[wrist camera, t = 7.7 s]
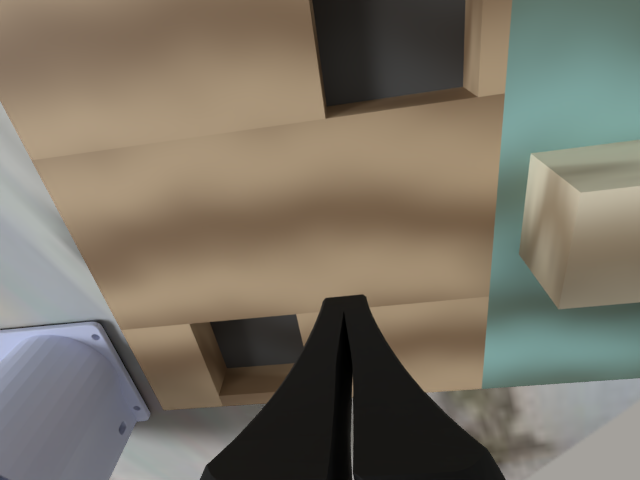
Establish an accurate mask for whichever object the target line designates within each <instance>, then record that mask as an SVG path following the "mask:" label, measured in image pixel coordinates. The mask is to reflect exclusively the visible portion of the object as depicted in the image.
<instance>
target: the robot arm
mask: <svg viewBox="0 0 640 480" xmlns="http://www.w3.org/2000/svg"><path fill="white" fill-rule="evenodd" d="M0 361H1V362H0V480H109V479H110V476H111V474H112V472H113V470H114V468H115V466H116V464H117V462H118V460H119V458H120V455H121V453H122V451H123V449H124V447H125V445H126V443H127V441H128V439H129V437H130V434H131V432H132V430H133V428H134V426H135V424H136V422H138V421H147V420H148V419H149V417H150V412H149V410H148V408H147V406H146V404H145V403H144V401H143V399H142V397H141V395H140V394H139V392H138V390H137V388H136V386H135V385H134V383H133V381H132V379H131V377H130V376H129V374H128V372H127V370H126V368H125V367H124V365H123V363H122V361H121V359H120V358H119V356H118V354H117V352H116V350H115V349H114V347H113V345H112V343H111V341H110V340H109V338H108V336H107V334H106V332H105V331H104V329H103V327H102V326H101V324H99V323H97V322H82V323H71V324H61V325H50V326H40V327H29V328H18V329H8V330H0ZM352 382H353V414H354V443H353V475H354V480H505V478H504V476H503V474H502V472H501V471H500V469H499V467H498V465H497V464H496V462H495V460H494V459H493V457H492V456H491V454H490V453H489V451H488V450H487V449H486V448H485V447H484V446H483V445H481V444H480V443H479V442H478V441H477V440H475V439H474V438H473V437H472V436H470V435H469V434H468V433H467V432H466V431H465V430H463V429H462V428H461V427H460V426H459V425H458V424H457V423H456V422H454V421H453V420H452V419H451V418H450V417H449V416H448V415H447V414H446V413H445V412H444V411H443V410H442V409H441V408H440V407H439V406H438V405H437V404H436V403H435V402H434V401H433V400H432V399H431V398H430V397H429V396H428V395H427V394H426V393H425V392H424V391H423V389H422V388H421V387H420V386H419V385H418V384H417V382H416V381H415V380H414V379H413V378H412V376H411V375H410V374H409V373H408V371H407V370H406V369H405V368H404V366H403V365H402V363H401V362H400V361H399V359H398V358H397V356H396V355H395V353H394V352H393V351H392V349H391V348H390V346H389V344H388V343H387V341H386V340H385V338H384V336H383V334H382V333H381V331H380V329H379V327H378V325H377V323H376V321H375V319H374V317H373V315H372V313H371V310H370V308H369V305H368V302H367V297H366V296H365V295H363V294H360V295H350V296H340V297H329V298H325V299H324V300H323V302H322V306H321V309H320V312H319V314H318V317H317V320H316V322H315V324H314V327H313V329H312V331H311V333H310V335H309V337H308V339H307V342H306V344H305V346H304V347H303V349H302V351H301V353H300V355H299V356H298V358H297V360H296V362H295V363H294V365H293V367H292V368H291V370H290V372H289V373H288V375H287V376H286V378H285V379H284V381H283V382H282V384H281V385H280V386H279V388H278V389H277V391H276V392H275V393H274V395H273V396H272V397H271V398H270V400H269V401H268V402H267V404H266V405H265V406H264V407H263V409H262V410H261V411H260V412H259V413H258V415H257V416H256V417H255V418H254V419H253V420H252V421H251V422H250V423H249V424H248V425H247V426H246V428H245V429H244V430H243V431H242V432H241V433H240V434H239V435H238V436H237V437H236V438H235V439H234V440H233V441H232V442H231V443H230V444H229V445H228V446H227V447H226V448H225V449H224V450H222V451H221V452H220V453H219V454H218V455H217V456H216V457H215V458H214V459H213V460H212V461H211V462H209V463H208V464H207V465H206V467H205V469H204V471H203V474H202V476H201V478H200V480H352V467H351V409H352Z"/></svg>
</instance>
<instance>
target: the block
mask: <svg viewBox="0 0 640 480" xmlns="http://www.w3.org/2000/svg"><path fill="white" fill-rule="evenodd" d="M519 255H520V257H521V258H522V259H523V261H524V262H525V264H526V265H527V266H528V268H529V269H530V270H531V272H532V273H533V275H534V276H535V277H536V279H537V280H538V282H539V283H540V284H541V286H542V287H543V289H544V290H545V291H546V293H547V294H548V295H549V297H550V298H551V300H552V301H553V302H554V304H555V305H556V307H557V308H558V309H568V308H580V307H592V306H603V305H615V304H626V303H638V302H640V140H633V141H625V142H617V143H609V144H601V145H593V146H585V147H578V148H570V149H562V150H554V151H546V152H538V153H531V155H530V163H529V172H528V180H527V189H526V197H525V206H524V214H523V223H522V232H521V240H520V249H519Z"/></svg>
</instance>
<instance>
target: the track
mask: <svg viewBox="0 0 640 480" xmlns="http://www.w3.org/2000/svg"><path fill="white" fill-rule="evenodd" d="M0 101H1V103H2V105H3V107H4V109H5V111H6V113H7V115H8V116H9V118H10V120H11V122H12V124H13V126H14V128H15V130H16V132H17V134H18V135H19V137H20V139H21V141H22V143H23V145H24V147H25V149H26V151H27V152H28V154H29V156H30V158H31V160H32V162H33V164H34V166H35V168H36V170H37V171H38V173H39V175H40V177H41V179H42V181H43V183H44V185H45V187H46V189H47V190H48V192H49V194H50V196H51V198H52V200H53V202H54V204H55V206H56V207H57V209H58V211H59V213H60V215H61V217H62V219H63V221H64V223H65V225H66V226H67V228H68V230H69V232H70V234H71V236H72V238H73V240H74V242H75V243H76V245H77V247H78V249H79V251H80V253H81V255H82V257H83V259H84V261H85V262H86V264H87V266H88V268H89V270H90V272H91V274H92V276H93V278H94V280H95V281H96V283H97V285H98V287H99V289H100V291H101V293H102V295H103V297H104V298H105V300H106V302H107V304H108V306H109V308H110V310H111V312H112V314H113V316H114V317H115V319H116V321H117V323H118V325H119V327H120V329H121V331H122V333H123V335H124V336H125V338H126V340H127V342H128V344H129V346H130V348H131V350H132V352H133V353H134V355H135V357H136V359H137V361H138V363H139V365H140V367H141V369H142V371H143V372H144V374H145V376H146V378H147V380H148V382H149V384H150V386H151V388H152V389H153V391H154V393H155V395H156V397H157V399H158V401H159V403H160V405H161V407H162V408H163V410H176V409H191V408H206V407H221V406H235V405H250V404H265V403H267V402H268V401H269V400H270V398H271V397H272V396H273V395H274V393H275V392H276V391H277V389H278V388H279V386H280V385H281V384H282V382H283V381H284V379H285V378H286V376H287V375H288V373H289V372H290V370H291V368H292V367H293V365H294V363H295V362H296V360H297V358H298V356H299V355H300V353H301V351H302V349H303V347H304V346H305V344H306V342H307V339H308V337H309V335H310V333H311V331H312V329H313V327H314V324H315V322H316V320H317V317H318V314H319V312H320V309H321V306H322V302H323V300H324V299H325V298H329V297H340V296H350V295H360V294H363V295H365V296H366V297H367V302H368V305H369V308H370V310H371V313H372V315H373V317H374V319H375V321H376V323H377V325H378V327H379V329H380V331H381V333H382V334H383V336H384V338H385V340H386V341H387V343H388V344H389V346H390V348H391V349H392V351H393V352H394V353H395V355H396V356H397V358H398V359H399V361H400V362H401V363H402V365H403V366H404V368H405V369H406V370H407V371H408V373H409V374H410V375H411V376H412V378H413V379H414V380H415V381H416V382H417V384H418V385H419V386H420V387H421V388H422V389H423V391H424V392H425V393H427V392H442V391H456V390H471V389H486V388H501V387H515V386H530V385H545V384H559V383H574V382H589V381H604V380H618V379H633V378H640V302H638V303H626V304H615V305H603V306H592V307H580V308H568V309H558V308H557V307H556V305H555V304H554V302H553V301H552V300H551V298H550V297H549V295H548V294H547V293H546V291H545V290H544V289H543V287H542V286H541V284H540V283H539V282H538V280H537V279H536V277H535V276H534V275H533V273H532V272H531V270H530V269H529V268H528V266H527V265H526V264H525V262H524V261H523V259H522V258H521V257H520V255H519V249H520V240H521V232H522V223H523V214H524V206H525V197H526V189H527V180H528V172H529V163H530V155H531V153H538V152H546V151H554V150H562V149H570V148H578V147H585V146H593V145H601V144H609V143H617V142H625V141H633V140H640V0H0ZM352 398H353V382H352Z"/></svg>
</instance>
